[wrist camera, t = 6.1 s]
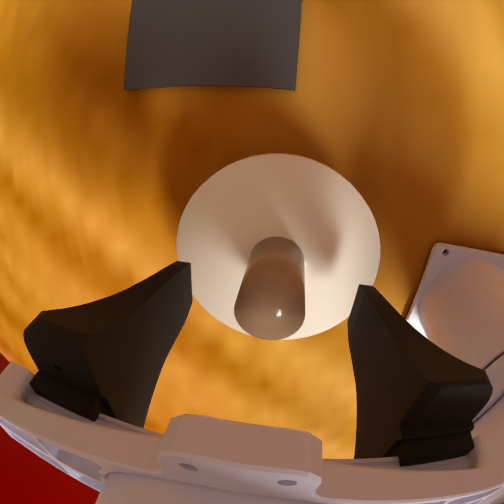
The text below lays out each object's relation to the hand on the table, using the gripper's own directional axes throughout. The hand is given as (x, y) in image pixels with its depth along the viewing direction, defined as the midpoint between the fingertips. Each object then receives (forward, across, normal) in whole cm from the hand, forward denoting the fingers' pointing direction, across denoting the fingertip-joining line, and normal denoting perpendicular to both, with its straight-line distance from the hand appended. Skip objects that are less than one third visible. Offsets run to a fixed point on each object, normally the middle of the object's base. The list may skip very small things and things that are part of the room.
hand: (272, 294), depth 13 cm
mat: (+6, +5, -14) cm, 16 cm away
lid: (+3, 0, 0) cm, 3 cm away
